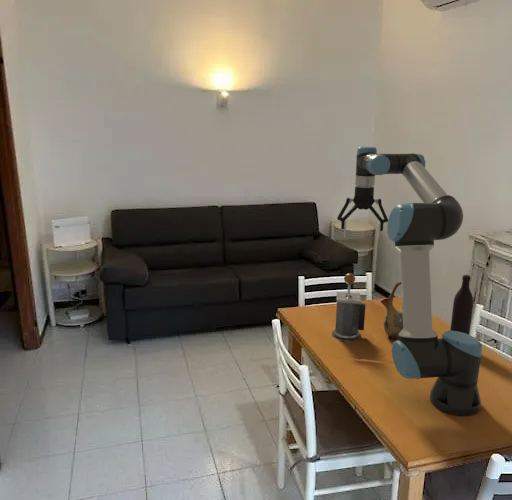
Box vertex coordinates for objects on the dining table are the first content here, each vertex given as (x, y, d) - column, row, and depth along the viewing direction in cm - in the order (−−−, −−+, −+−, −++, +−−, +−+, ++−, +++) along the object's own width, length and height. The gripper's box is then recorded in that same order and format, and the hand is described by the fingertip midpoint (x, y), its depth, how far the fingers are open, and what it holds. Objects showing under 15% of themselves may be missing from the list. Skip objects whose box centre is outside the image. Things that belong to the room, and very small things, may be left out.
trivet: (361, 343, 199) (361, 342, 199) (331, 341, 201) (331, 339, 201) (360, 331, 211) (360, 329, 211) (332, 329, 213) (332, 327, 212)
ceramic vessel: (413, 333, 209) (419, 277, 202) (420, 343, 200) (426, 285, 194) (375, 333, 209) (379, 277, 202) (380, 343, 200) (385, 284, 194)
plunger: (354, 332, 201) (358, 276, 195) (338, 331, 202) (341, 275, 196) (354, 325, 208) (358, 271, 201) (338, 324, 209) (341, 270, 202)
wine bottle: (467, 345, 199) (476, 274, 191) (466, 352, 193) (476, 279, 185) (449, 341, 202) (457, 272, 194) (447, 349, 196) (456, 277, 188)
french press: (363, 341, 200) (366, 301, 196) (334, 338, 202) (336, 300, 197) (362, 331, 210) (365, 293, 205) (334, 328, 211) (336, 291, 207)
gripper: (395, 185, 198) (391, 237, 204) (333, 184, 202) (330, 234, 208) (397, 188, 191) (393, 241, 197) (332, 186, 195) (330, 238, 201)
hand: (361, 237), depth 202 cm, fingers open, 13 cm apart
